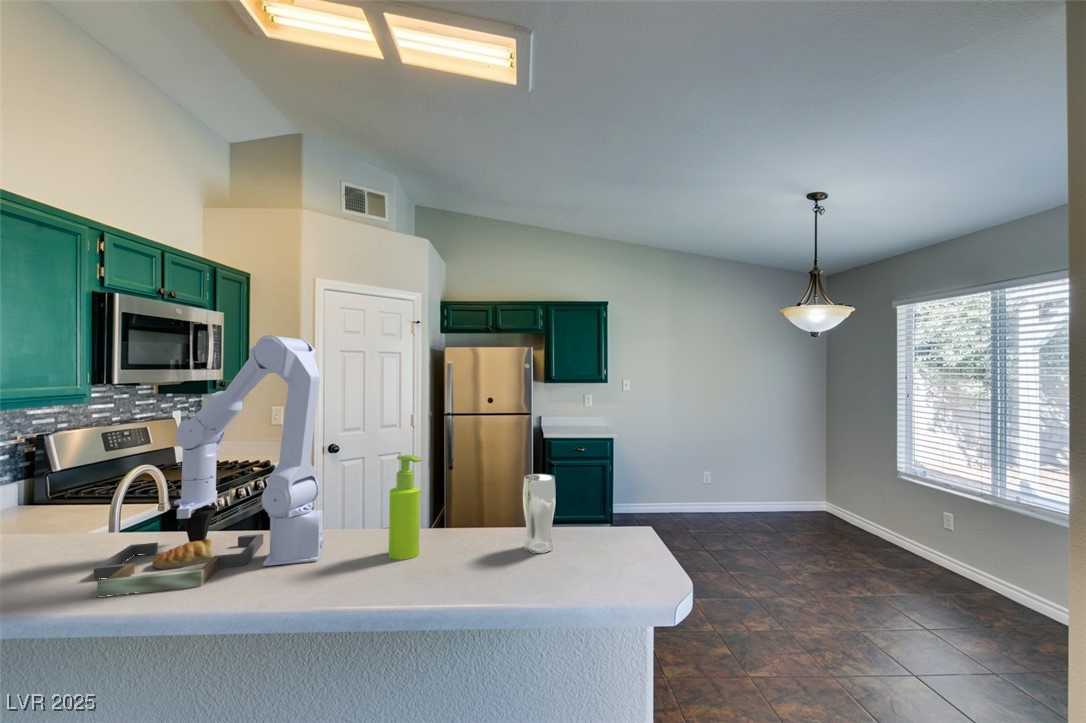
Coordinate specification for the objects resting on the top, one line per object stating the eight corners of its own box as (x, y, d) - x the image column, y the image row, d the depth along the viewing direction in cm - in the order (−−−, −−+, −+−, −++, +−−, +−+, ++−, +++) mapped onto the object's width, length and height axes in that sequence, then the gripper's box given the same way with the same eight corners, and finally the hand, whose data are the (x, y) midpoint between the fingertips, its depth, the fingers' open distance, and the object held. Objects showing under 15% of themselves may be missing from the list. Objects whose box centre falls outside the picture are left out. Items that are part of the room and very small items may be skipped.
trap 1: (157, 552, 95) (157, 542, 95) (124, 577, 84) (124, 565, 84) (130, 554, 94) (131, 544, 94) (93, 580, 83) (93, 568, 83)
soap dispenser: (406, 563, 91) (407, 459, 91) (382, 556, 94) (384, 456, 95) (428, 553, 96) (430, 455, 96) (405, 547, 99) (406, 452, 100)
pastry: (153, 575, 85) (154, 554, 85) (151, 564, 90) (152, 544, 90) (215, 562, 91) (216, 542, 92) (210, 552, 96) (211, 533, 97)
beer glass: (550, 556, 95) (550, 481, 95) (517, 552, 97) (518, 479, 97) (558, 544, 102) (559, 474, 102) (528, 541, 103) (528, 472, 104)
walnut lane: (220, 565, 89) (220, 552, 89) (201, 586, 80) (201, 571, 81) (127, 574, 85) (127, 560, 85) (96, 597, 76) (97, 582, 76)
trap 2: (263, 543, 101) (263, 533, 101) (245, 565, 89) (245, 554, 89) (239, 545, 100) (239, 535, 100) (218, 567, 88) (218, 557, 88)
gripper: (191, 471, 103) (189, 534, 102) (158, 486, 89) (156, 559, 88) (228, 469, 105) (227, 531, 104) (202, 484, 91) (200, 555, 90)
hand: (197, 543), depth 96 cm, fingers closed
